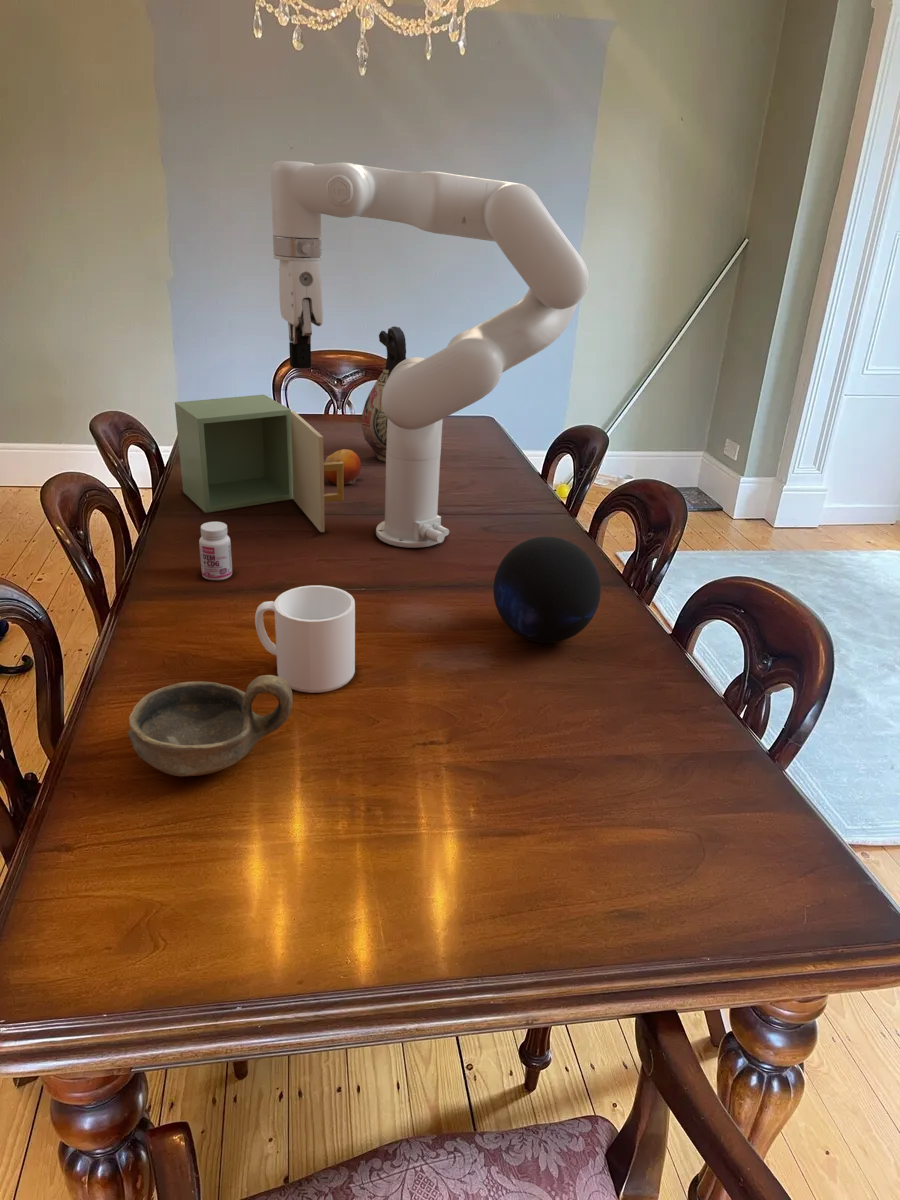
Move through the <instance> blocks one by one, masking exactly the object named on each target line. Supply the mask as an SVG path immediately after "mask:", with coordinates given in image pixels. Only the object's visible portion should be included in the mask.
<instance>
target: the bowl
mask: <svg viewBox="0 0 900 1200" xmlns="http://www.w3.org/2000/svg"><path fill="white" fill-rule="evenodd" d="M292 690H293V689H291V688H290V686H289V684H288V683H287V682H286V681H285V680H284V679H282V678H280V677H278V675H273V674H265V675H260V676H256V678H254V679H253V680H252V681H250V683H249V684H248V685H247V687H246V690H245V691H243V690H241V689H239V688H236V687H234V686H231V685H228V684H222V683H218V682H212V681H198V680H197V681H185V682H178V683H174V684H171V685H167V686H163V687H161V688H158V689H155V690H152V691H150V692H148V693H147V694H146V695H144V696H143V697H142V698H141V699H140V700H139V701H138V702H137V703H136V704H135V705H134V706H133V708H132V712H131V713H130V714H129V717H128V723H129V727H130V729H129V730H128V734H127V735H128V739H129V740H130V742H131V746H132V748H133V750H134V751H135V754H136V755H137V756H138V758H140V759H141V760H142V761H144V762H146V763H147V764H148V765H150V766H151V767H153V768H154V769H156V770H158V771H160V772H162V773H164V774H166V775H171V776H174V777H175V776H176V777H195V776H196V777H197V776H205V775H211V774H215V773H217V772H220V771H223V770H224V769H225V770H226V769H227V768H229V767H231V766H233V765H235V764H236V763H238V762H239V761H241V760H242V759H243V758H245V757H246V756H247V755H248V754H249V752H250V751H251V750H252V749H253V748H254V746H256V744H258V742H259V741H260V740H261V739H263V738H264V737H266V736H267V735H270V734H271V733H273V732H275V731H277V730H278V729H280V728H281V727H283V725H285V723H286V722H287V720H288V719H289V717H290V715H291V713H292V709H293V699H294V696H293V691H292ZM264 693H265V694H266V693H267V694H270V695H273V696H274V697H276V699H277V702H278V705H277V706H276V708H275V709H274V710H272V712H270V713H269V714H266V715H259V714H257V713H255V712H254V710H253V706H252V703H253V702H254V700H255V699H256V697H257V696H258V695H259V694H264Z"/></svg>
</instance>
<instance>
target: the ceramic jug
mask: <svg viewBox="0 0 900 1200" xmlns="http://www.w3.org/2000/svg"><path fill="white" fill-rule="evenodd" d="M378 340H379V342H380V344H382V345H383V346H385V347H386V348H385V349H386V359H385V367H384V368H383V370H382V373H381V374H379V375H380V376H379V377H378V378H377V379H376V381H375V383H374V384H373V387H372V389H371V390H370V391H369V393H368V396H367V398H366V400H365V403H364V406H363V409H362V412H361V431H362V434H363V438H364V440H365V442H366V443H367V444H368V445H369V447H370V448H371V449H372V451H373V452H374V453H375V456H376V458H377V459H378V460H380V461H382V462H386V447H387V420H388V418H387V416H386V414H385V412H384V410H383V406H382V393H383V389H384V386H385V384H386V382H387V379H388V377H389V375H390V374H391V372H392V370H393V369H394V368H395V367H396V365H398V364H399V363H400V362H401V361H403V360H405V359H407V341H406V335H405V333H404V331H403V330H402V328H401V327H399V326H391V327H389V328H388V329H387V332H386V331H385V330H381V331H380V332H379V333H378Z"/></svg>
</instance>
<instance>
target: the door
mask: <svg viewBox="0 0 900 1200" xmlns="http://www.w3.org/2000/svg"><path fill="white" fill-rule="evenodd" d="M291 441H292V472H293V499H292V501H294V502H295V503H296V505H297V506H298V507H299V509H301V511H302V512H303V513H304V515H305V516H306V517H307V518H308V519H309V521H310V522H311V523H312V524H313V525H314V527H315V528H316V529H317V530H318V531H319V533H325V532H326V530H325V529H326V526H325V503H333V502H341V501H342V502H343V501H344V500H345V493H344V492H345V487H344V486H345V485H344V463H343V462H329V463H324V462H325V460H324V456H325V455H324V436H323V435H322V434H321V433H320V432H319V431H317V430H316V429H315V428H314V427H313V426H312V425H311V424H309V423H308V422H307V421H306V420H305V419H304V418H303V417H302V416H301V415H299V414H298V413H297V412H296V411H295V410H291ZM334 470H337V485H336V492H330V493H325V475H324V471H334Z"/></svg>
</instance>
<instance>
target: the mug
mask: <svg viewBox="0 0 900 1200" xmlns="http://www.w3.org/2000/svg"><path fill="white" fill-rule="evenodd" d="M266 611H272V612H274V629H275V630H274V631H275V642H273V641H272V640H271V639H270V637H269V636H268V633H267V631H266V628H265V623H264V614H265V612H266ZM254 624H255V629H256V634H257V637H258V639H259V641H260V644H261V645H262V646H263V649H265V651H266V652H268V653H270V654H272V655H273V656H275V657H276V668H277V669H276V671H277V676H278V677H280V678H282V679H284V680H285V681H286V682H287V683H288V684H289V686H290V688H291V690H294V691H297V692H301V693H309V694H320V693H321V694H322V693H328V692H332V691H335V690H338V689H341V688H343V687H344V686H346V685H348V683H349V682H350V681H351V680H352V679H353V678H354V676H355V673H356V600H355V598H354V597H353V595H352V594H350V593H349V592H348V591H346V590H344V589H341V588H338V587H335V586H330V585H321V584H318V585H316V584H315V585H314V584H313V585H304V586H298V587H294V588H291V589H288V590H286V591H284V592H282V593H281V594H279V595H278V596H277V597H276V599H275V600H274V601H273V600H270V601H269V600H268V601H263V602H262V603H260V604H259V605H258V606H257V608H256V611H255V615H254Z"/></svg>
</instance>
